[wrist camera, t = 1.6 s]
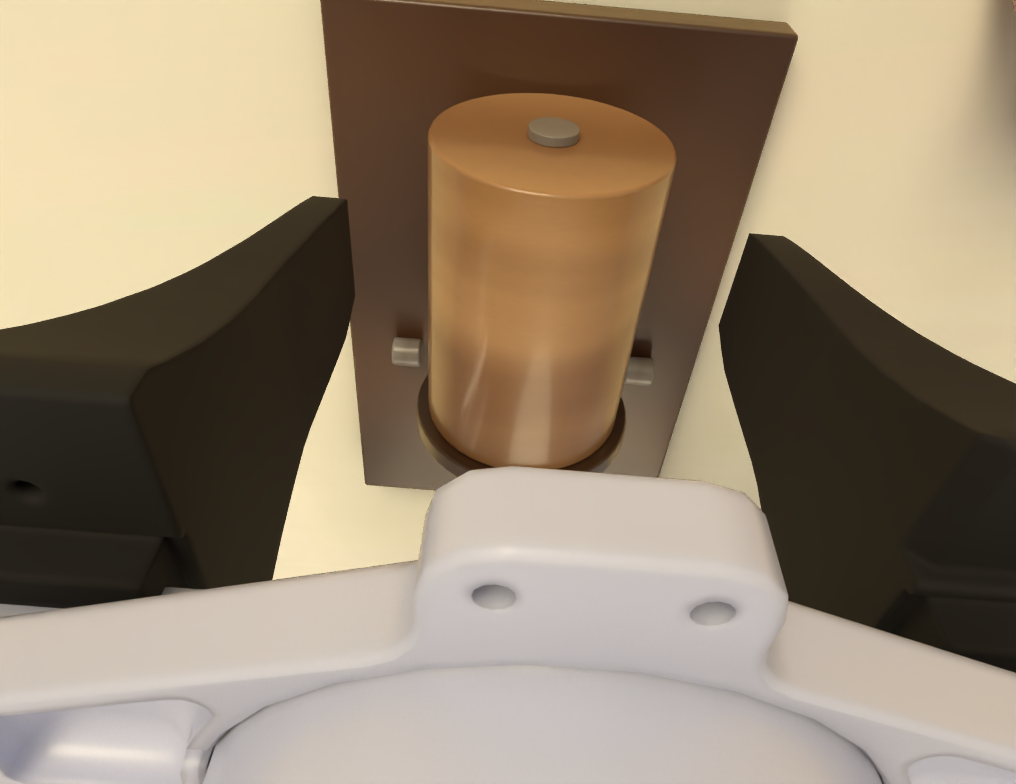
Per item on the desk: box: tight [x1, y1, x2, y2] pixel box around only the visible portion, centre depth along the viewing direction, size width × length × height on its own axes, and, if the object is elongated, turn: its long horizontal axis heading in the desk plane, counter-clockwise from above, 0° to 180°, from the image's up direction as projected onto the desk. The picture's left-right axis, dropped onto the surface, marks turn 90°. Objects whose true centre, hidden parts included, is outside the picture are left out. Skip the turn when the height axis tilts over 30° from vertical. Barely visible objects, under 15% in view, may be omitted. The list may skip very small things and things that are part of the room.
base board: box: [320, 0, 798, 490], centre depth 20 cm, size 16×10×2 cm, turn 176°
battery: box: [416, 93, 677, 477], centre depth 16 cm, size 5×5×8 cm
